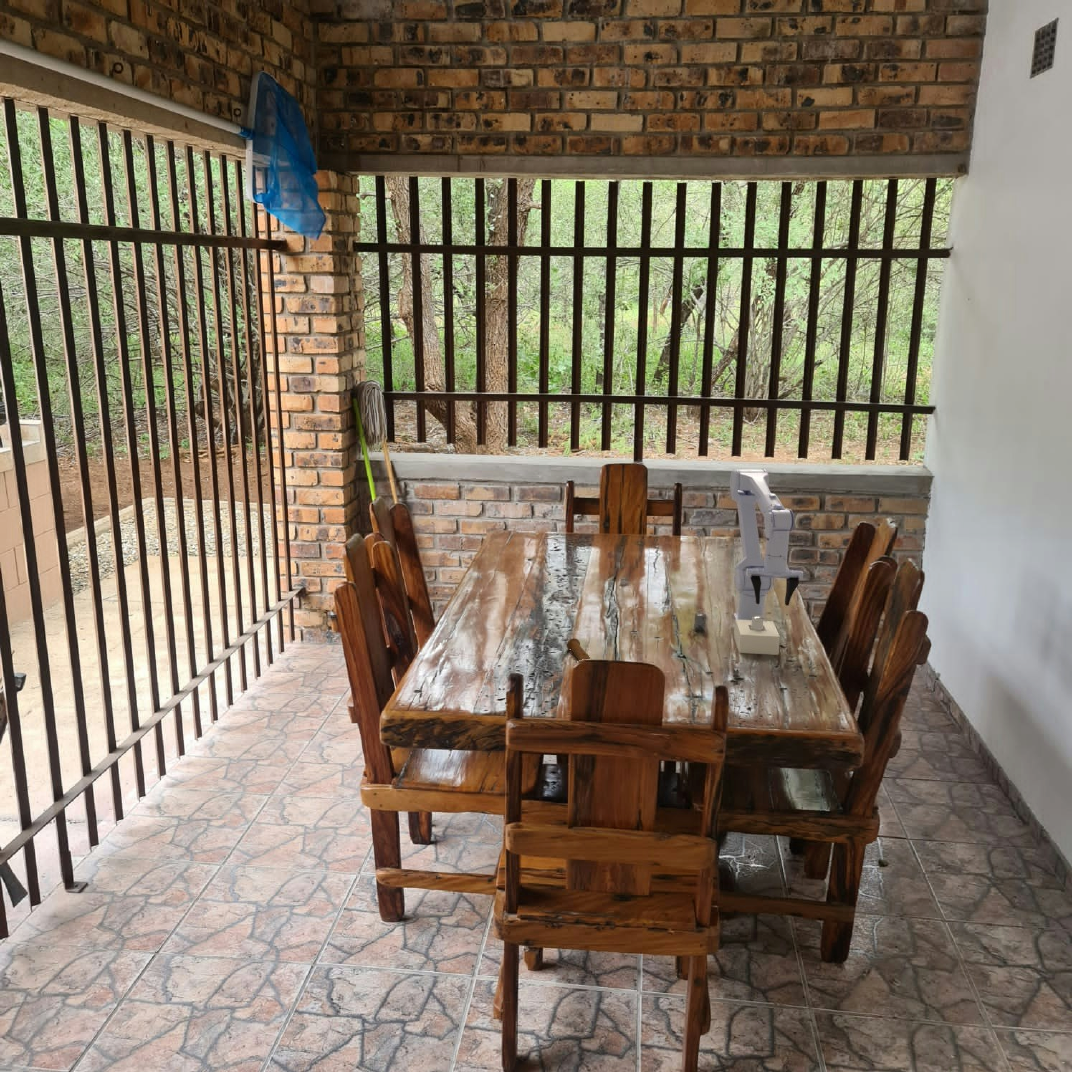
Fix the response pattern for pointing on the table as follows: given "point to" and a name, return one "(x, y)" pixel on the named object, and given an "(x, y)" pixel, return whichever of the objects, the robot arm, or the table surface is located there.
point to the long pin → (757, 623)
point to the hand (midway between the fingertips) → (772, 603)
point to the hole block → (756, 638)
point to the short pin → (699, 622)
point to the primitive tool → (577, 649)
